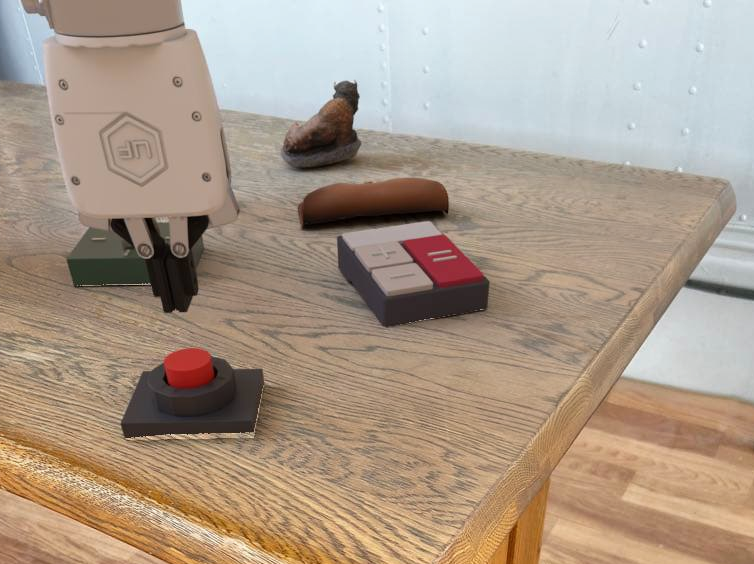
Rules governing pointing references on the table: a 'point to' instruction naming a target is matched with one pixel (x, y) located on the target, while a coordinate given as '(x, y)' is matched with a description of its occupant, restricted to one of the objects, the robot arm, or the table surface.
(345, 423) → the table surface
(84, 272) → the panel
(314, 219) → the sunglasses case
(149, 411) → the button box
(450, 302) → the calculator
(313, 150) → the animal figurine
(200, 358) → the red button
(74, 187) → the robot arm
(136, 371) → the table surface
